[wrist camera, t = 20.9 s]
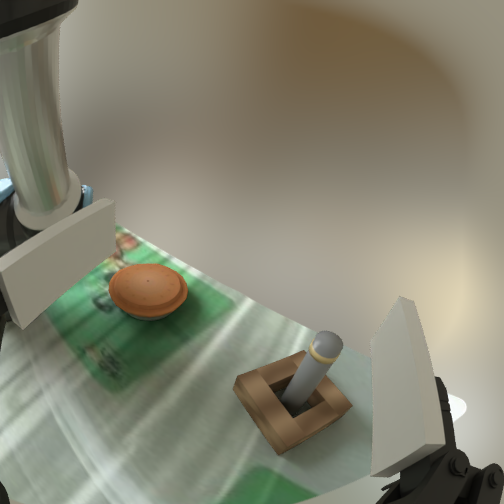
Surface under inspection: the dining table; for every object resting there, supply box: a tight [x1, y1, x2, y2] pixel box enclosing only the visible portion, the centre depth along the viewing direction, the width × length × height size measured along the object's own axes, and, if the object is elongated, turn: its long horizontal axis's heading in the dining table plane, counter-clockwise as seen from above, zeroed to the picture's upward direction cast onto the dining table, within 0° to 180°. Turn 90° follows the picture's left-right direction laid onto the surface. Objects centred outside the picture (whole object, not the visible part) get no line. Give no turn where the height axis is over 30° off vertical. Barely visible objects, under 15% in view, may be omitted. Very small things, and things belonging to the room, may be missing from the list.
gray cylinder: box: [279, 331, 343, 415], centre depth 35 cm, size 4×4×16 cm
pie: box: [109, 264, 188, 321], centre depth 52 cm, size 15×16×5 cm
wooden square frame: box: [233, 350, 353, 455], centre depth 38 cm, size 13×13×4 cm
